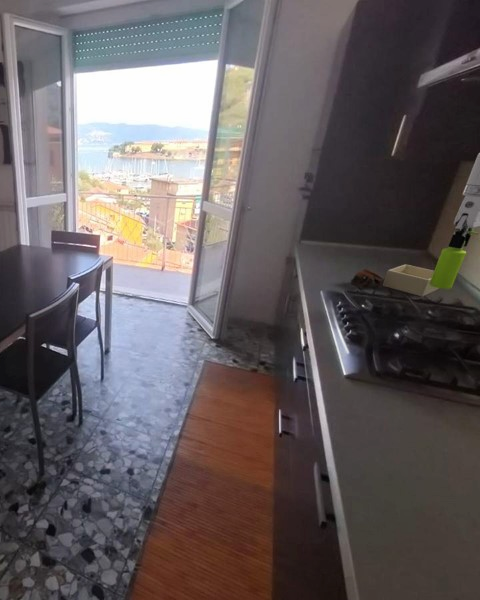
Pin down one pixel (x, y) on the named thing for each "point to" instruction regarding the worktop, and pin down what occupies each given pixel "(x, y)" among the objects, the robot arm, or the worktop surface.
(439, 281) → the soap dispenser
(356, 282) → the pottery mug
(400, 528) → the worktop surface
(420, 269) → the open rectangular box
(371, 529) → the worktop surface
